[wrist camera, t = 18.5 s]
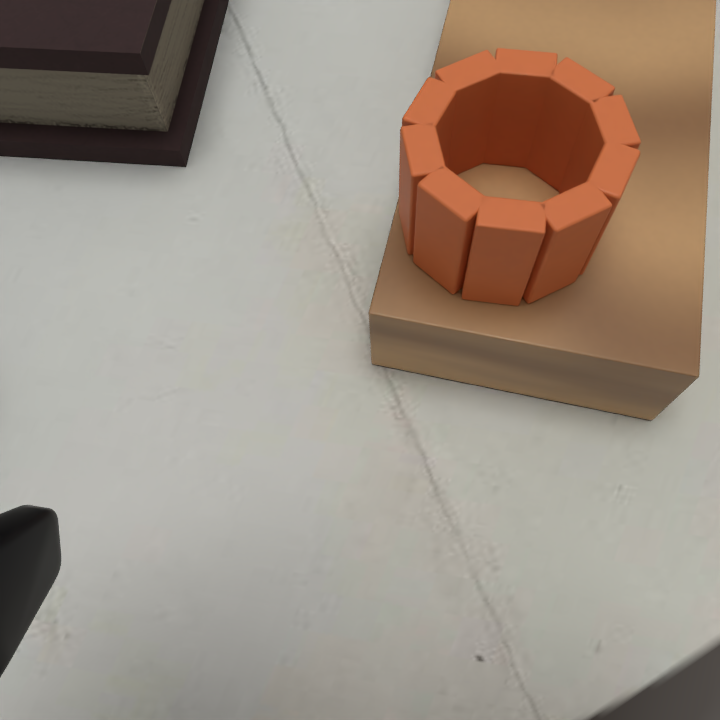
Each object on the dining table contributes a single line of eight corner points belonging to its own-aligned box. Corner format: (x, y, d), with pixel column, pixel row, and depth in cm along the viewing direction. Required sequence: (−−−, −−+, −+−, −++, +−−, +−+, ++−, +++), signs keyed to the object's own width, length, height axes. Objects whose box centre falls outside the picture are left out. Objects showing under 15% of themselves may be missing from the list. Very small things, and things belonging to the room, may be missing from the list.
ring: (597, 316, 21) (641, 244, 17) (385, 290, 22) (384, 214, 18) (602, 153, 24) (642, 59, 20) (412, 134, 24) (416, 39, 21)
